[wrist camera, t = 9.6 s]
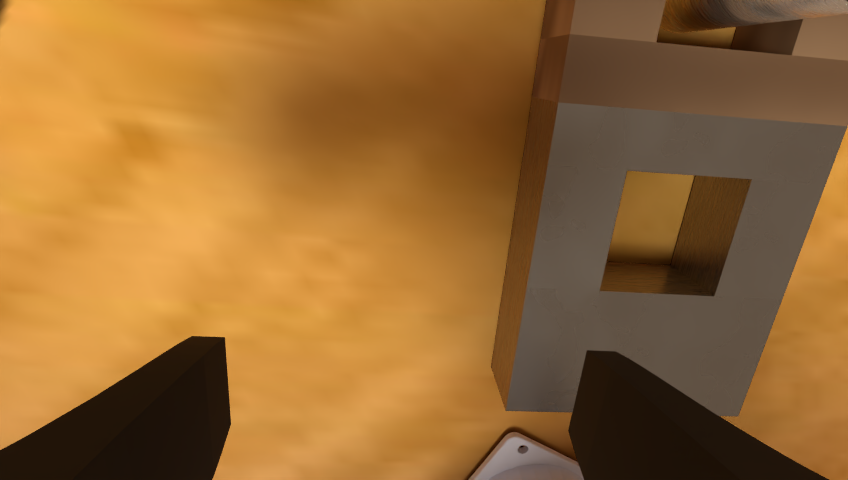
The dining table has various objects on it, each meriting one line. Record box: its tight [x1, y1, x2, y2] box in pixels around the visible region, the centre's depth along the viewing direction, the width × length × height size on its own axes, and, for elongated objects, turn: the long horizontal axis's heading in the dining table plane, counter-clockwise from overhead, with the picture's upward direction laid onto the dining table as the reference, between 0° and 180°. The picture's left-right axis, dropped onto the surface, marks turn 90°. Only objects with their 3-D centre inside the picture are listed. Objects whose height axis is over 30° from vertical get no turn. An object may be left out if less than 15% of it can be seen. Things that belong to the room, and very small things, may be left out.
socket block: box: [491, 97, 847, 416], centre depth 19 cm, size 12×10×3 cm
